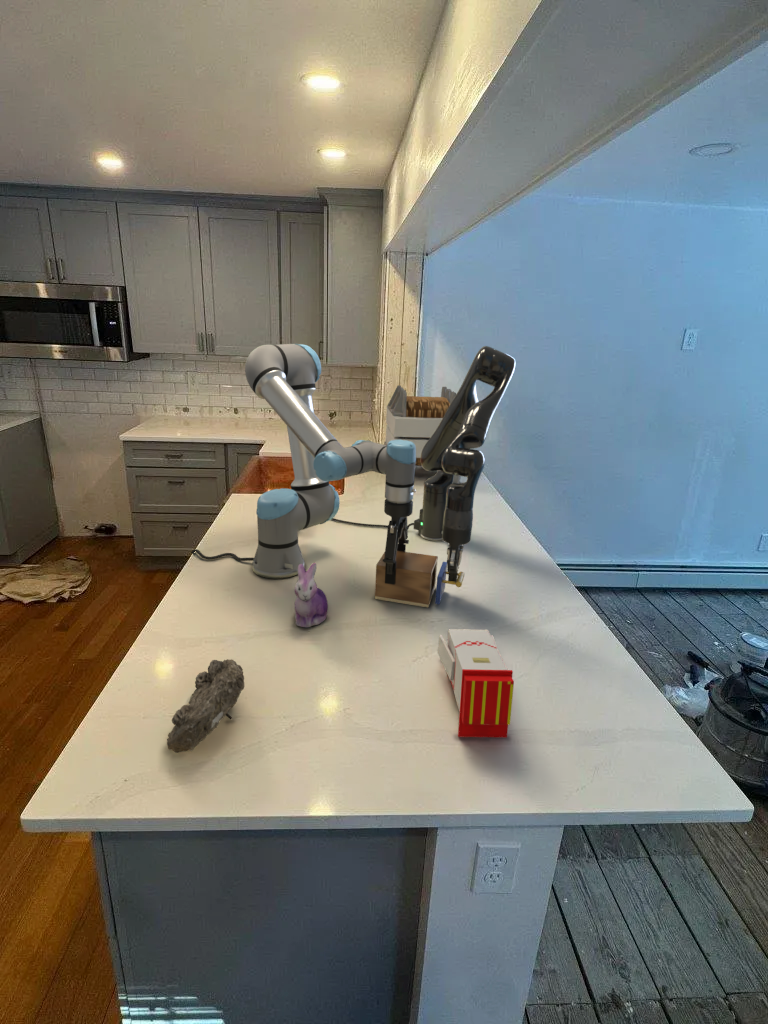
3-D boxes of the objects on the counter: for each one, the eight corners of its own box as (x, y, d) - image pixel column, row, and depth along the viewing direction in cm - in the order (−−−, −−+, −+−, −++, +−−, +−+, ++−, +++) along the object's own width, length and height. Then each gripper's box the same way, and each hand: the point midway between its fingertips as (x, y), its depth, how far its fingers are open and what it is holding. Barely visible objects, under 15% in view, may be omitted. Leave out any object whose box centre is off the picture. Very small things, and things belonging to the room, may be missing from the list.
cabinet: (435, 588, 162) (437, 556, 158) (428, 607, 151) (431, 573, 148) (384, 581, 165) (386, 549, 162) (374, 598, 155) (376, 565, 151)
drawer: (463, 590, 159) (465, 564, 156) (458, 607, 150) (461, 580, 147) (398, 580, 163) (399, 555, 160) (390, 596, 154) (391, 569, 151)
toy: (488, 613, 130) (523, 677, 101) (484, 667, 133) (517, 744, 104) (435, 612, 130) (455, 676, 101) (432, 666, 133) (451, 743, 103)
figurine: (299, 632, 137) (299, 576, 132) (286, 613, 145) (285, 559, 140) (336, 624, 141) (336, 570, 136) (320, 605, 149) (321, 553, 144)
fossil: (192, 660, 117) (244, 628, 112) (224, 691, 120) (276, 661, 115) (142, 746, 98) (202, 712, 93) (182, 779, 101) (242, 748, 96)
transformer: (382, 463, 289) (386, 382, 275) (445, 464, 293) (451, 384, 279) (390, 482, 257) (394, 392, 243) (460, 483, 261) (468, 394, 247)
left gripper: (403, 515, 138) (398, 595, 145) (421, 488, 160) (416, 558, 167) (373, 512, 140) (370, 591, 147) (395, 485, 161) (391, 555, 169)
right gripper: (469, 534, 141) (463, 596, 147) (474, 517, 153) (468, 574, 159) (439, 530, 142) (434, 592, 148) (446, 513, 155) (442, 571, 160)
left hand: (394, 574), depth 157 cm, fingers closed on cabinet, 11 cm apart
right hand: (452, 583), depth 154 cm, fingers closed
